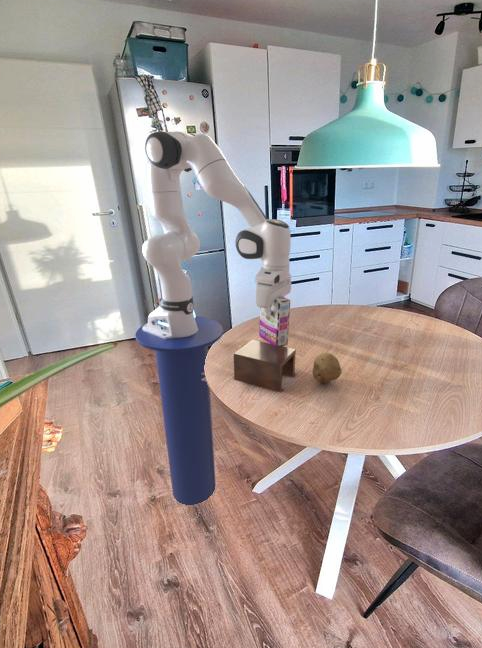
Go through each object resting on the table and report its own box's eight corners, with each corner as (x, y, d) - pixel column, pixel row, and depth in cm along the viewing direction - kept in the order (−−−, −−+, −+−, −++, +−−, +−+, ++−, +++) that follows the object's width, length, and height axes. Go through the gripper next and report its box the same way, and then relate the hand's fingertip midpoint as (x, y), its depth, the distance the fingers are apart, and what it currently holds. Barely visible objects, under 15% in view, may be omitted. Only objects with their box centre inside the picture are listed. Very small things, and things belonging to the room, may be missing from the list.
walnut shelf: (234, 379, 124) (233, 353, 120) (252, 364, 134) (252, 339, 130) (279, 391, 119) (280, 364, 115) (294, 374, 129) (295, 349, 125)
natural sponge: (344, 380, 126) (347, 353, 122) (332, 392, 119) (335, 364, 115) (319, 372, 130) (321, 346, 126) (307, 384, 123) (308, 356, 119)
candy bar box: (288, 345, 133) (291, 299, 126) (276, 348, 130) (279, 302, 123) (270, 333, 141) (271, 290, 134) (258, 336, 138) (259, 292, 131)
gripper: (280, 264, 135) (278, 302, 141) (252, 278, 118) (251, 320, 124) (296, 267, 133) (294, 305, 139) (270, 281, 116) (269, 324, 122)
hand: (274, 312), depth 131 cm, fingers closed on candy bar box, 6 cm apart
